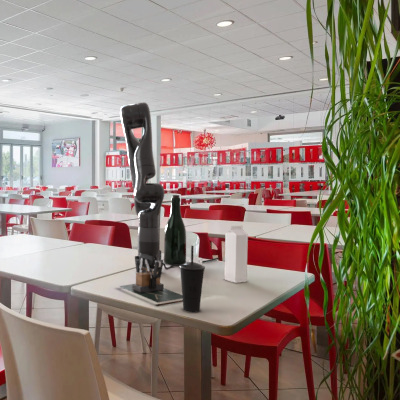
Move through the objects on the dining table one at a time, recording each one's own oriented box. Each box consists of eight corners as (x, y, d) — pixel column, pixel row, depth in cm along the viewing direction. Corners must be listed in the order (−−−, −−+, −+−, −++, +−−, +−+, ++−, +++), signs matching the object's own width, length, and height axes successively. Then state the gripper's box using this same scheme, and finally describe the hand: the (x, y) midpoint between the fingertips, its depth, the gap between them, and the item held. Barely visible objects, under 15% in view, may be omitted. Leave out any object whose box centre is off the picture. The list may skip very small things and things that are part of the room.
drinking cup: (175, 306, 133) (176, 244, 132) (198, 306, 134) (199, 243, 133) (183, 314, 126) (184, 247, 125) (208, 313, 126) (209, 247, 125)
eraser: (155, 286, 154) (155, 270, 153) (163, 289, 149) (163, 272, 149) (132, 289, 149) (132, 272, 149) (140, 292, 145) (140, 275, 145)
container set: (190, 268, 190) (190, 256, 189) (202, 269, 188) (202, 257, 187) (181, 278, 172) (181, 264, 171) (194, 279, 169) (194, 266, 169)
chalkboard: (147, 284, 161) (147, 281, 161) (190, 300, 140) (190, 297, 140) (116, 288, 155) (116, 285, 155) (157, 306, 134) (157, 303, 134)
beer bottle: (159, 263, 202) (160, 194, 201) (172, 260, 209) (172, 194, 208) (177, 266, 195) (178, 195, 193) (190, 263, 202) (191, 194, 200)
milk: (246, 281, 166) (248, 226, 165) (235, 283, 164) (236, 227, 163) (235, 278, 172) (237, 224, 171) (223, 279, 169) (225, 225, 168)
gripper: (170, 241, 144) (169, 290, 145) (145, 236, 157) (144, 281, 157) (152, 243, 140) (151, 293, 141) (128, 237, 153) (127, 283, 154)
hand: (148, 286), depth 149 cm, fingers closed on eraser, 5 cm apart
